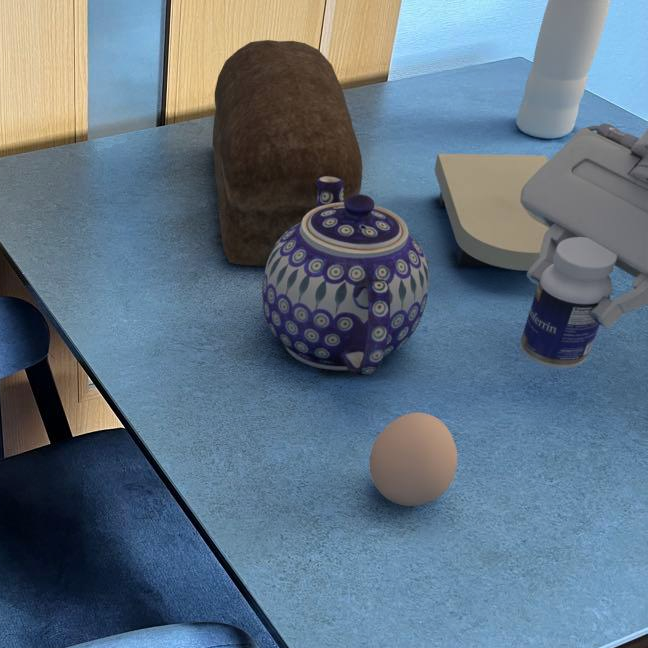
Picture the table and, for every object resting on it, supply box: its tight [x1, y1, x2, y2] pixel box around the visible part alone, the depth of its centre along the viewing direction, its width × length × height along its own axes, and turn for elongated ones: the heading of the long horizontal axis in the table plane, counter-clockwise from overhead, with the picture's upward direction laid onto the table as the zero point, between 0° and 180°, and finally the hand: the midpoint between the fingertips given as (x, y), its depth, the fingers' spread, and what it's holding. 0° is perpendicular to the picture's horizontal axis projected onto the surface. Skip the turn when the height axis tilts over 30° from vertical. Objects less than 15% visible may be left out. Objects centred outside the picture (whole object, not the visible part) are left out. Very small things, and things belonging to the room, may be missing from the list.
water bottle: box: [515, 0, 611, 139], centre depth 124 cm, size 7×7×25 cm
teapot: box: [261, 176, 430, 377], centre depth 94 cm, size 25×15×15 cm, turn 179°
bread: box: [211, 39, 363, 267], centre depth 114 cm, size 15×32×16 cm, turn 178°
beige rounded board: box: [434, 153, 549, 272], centre depth 110 cm, size 22×12×5 cm, turn 175°
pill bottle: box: [519, 237, 617, 370], centre depth 87 cm, size 6×6×10 cm
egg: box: [369, 412, 459, 507], centre depth 81 cm, size 7×7×8 cm
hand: (565, 301), depth 87 cm, fingers closed on pill bottle, 6 cm apart
